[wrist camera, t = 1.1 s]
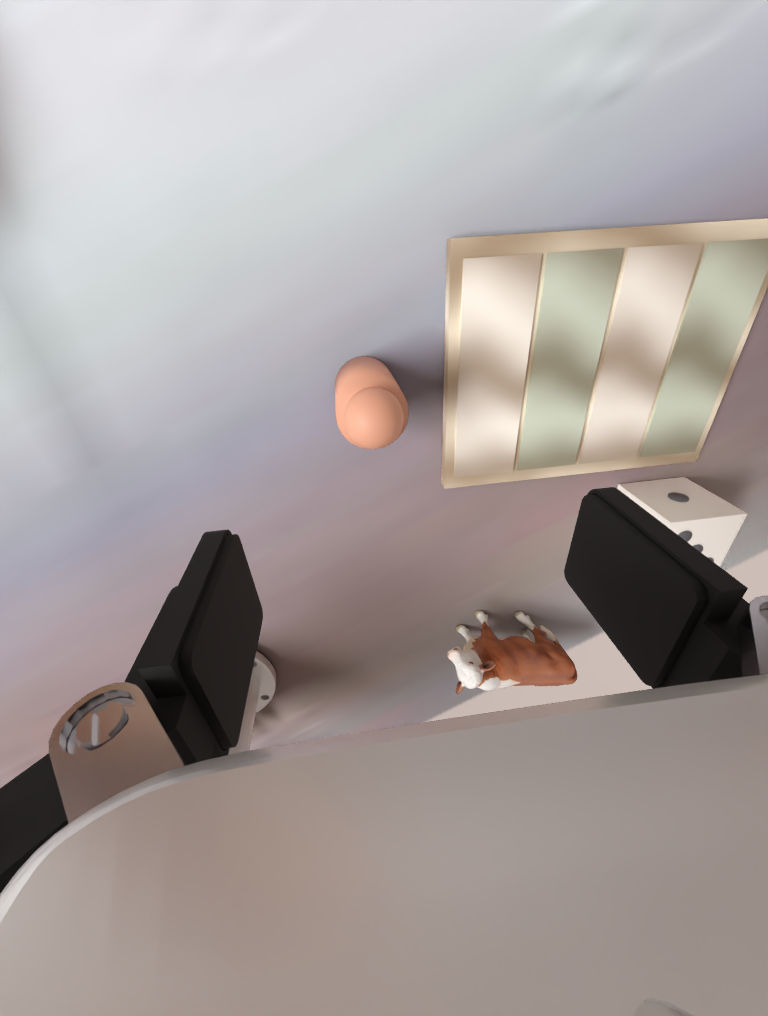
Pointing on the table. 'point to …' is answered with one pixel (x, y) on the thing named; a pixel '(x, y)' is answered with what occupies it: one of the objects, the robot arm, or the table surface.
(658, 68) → the table surface
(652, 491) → the die
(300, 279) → the table surface
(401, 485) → the table surface
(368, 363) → the peach rounded cylinder
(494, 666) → the bull figurine
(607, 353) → the game board
